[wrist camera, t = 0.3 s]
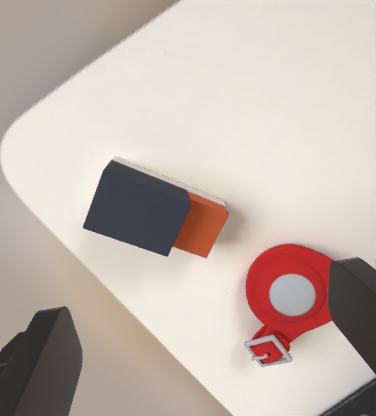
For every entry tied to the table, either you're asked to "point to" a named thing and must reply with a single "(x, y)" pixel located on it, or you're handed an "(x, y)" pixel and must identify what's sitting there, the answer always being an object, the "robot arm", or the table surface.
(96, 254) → the table surface
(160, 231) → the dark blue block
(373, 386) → the cash box
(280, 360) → the tracker holder
